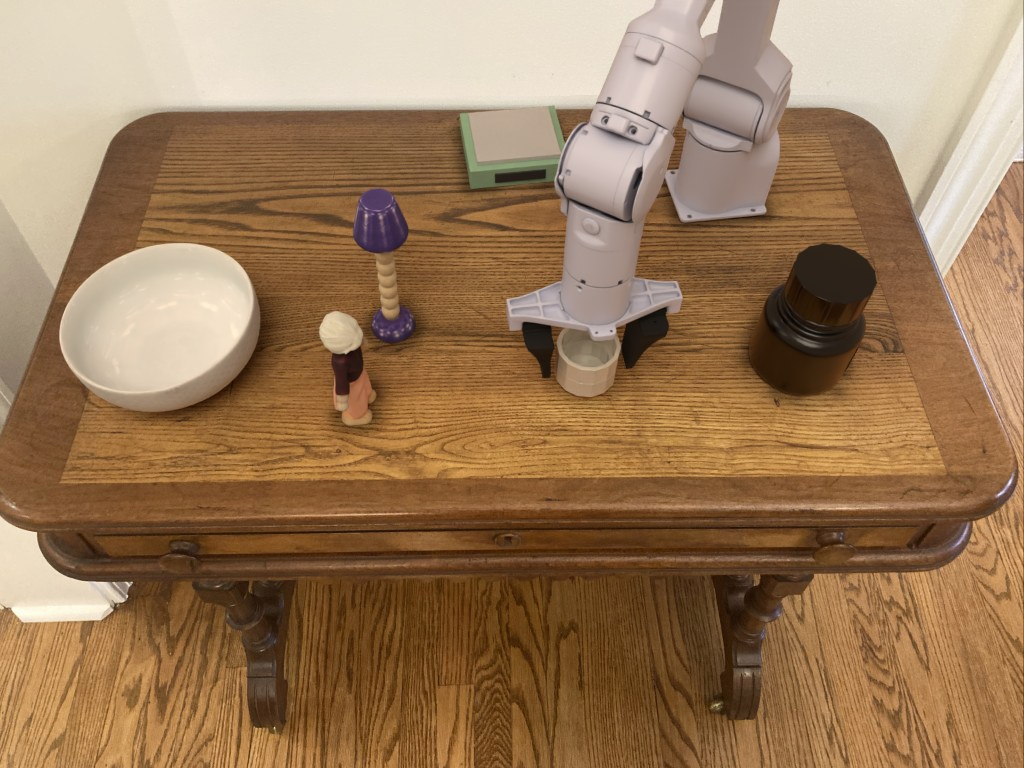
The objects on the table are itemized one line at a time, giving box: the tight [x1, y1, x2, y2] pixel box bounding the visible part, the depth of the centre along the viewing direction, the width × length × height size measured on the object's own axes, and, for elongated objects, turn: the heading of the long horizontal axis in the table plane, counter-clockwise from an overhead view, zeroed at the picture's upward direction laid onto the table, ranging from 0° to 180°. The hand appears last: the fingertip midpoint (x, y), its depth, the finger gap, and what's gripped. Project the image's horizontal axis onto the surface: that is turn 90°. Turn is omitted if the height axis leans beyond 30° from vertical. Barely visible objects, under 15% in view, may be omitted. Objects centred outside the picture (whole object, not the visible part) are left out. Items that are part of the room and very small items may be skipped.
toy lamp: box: [352, 187, 417, 344], centre depth 76 cm, size 5×5×17 cm
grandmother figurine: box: [318, 310, 377, 427], centre depth 72 cm, size 8×4×13 cm, turn 5°
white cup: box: [553, 328, 622, 398], centre depth 78 cm, size 6×6×5 cm
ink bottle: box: [748, 242, 878, 397], centre depth 76 cm, size 10×9×12 cm
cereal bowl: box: [58, 242, 262, 413], centre depth 77 cm, size 17×17×7 cm
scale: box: [459, 105, 566, 190], centre depth 96 cm, size 11×10×3 cm
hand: (586, 364), depth 78 cm, fingers open, 7 cm apart
